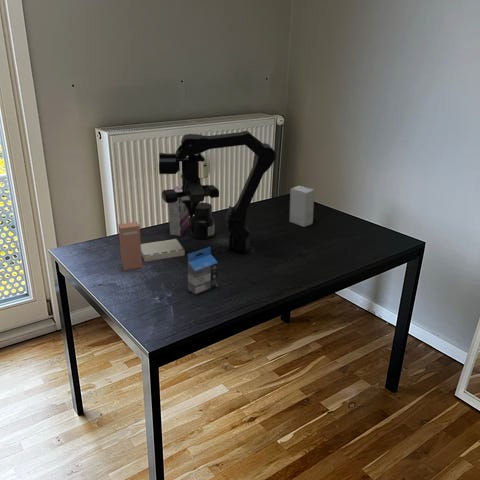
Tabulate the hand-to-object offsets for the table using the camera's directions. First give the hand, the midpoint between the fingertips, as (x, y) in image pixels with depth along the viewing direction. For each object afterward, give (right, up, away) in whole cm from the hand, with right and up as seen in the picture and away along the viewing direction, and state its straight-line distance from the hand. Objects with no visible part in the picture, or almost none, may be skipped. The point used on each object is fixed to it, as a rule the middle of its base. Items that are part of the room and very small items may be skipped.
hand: (191, 217), depth 165 cm
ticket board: (-11, -12, +4) cm, 17 cm away
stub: (-19, -17, -7) cm, 26 cm away
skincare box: (+42, -1, +32) cm, 53 cm away
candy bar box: (-7, -4, +22) cm, 23 cm away
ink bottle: (+3, -6, +19) cm, 20 cm away
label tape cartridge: (+5, -23, -18) cm, 29 cm away
